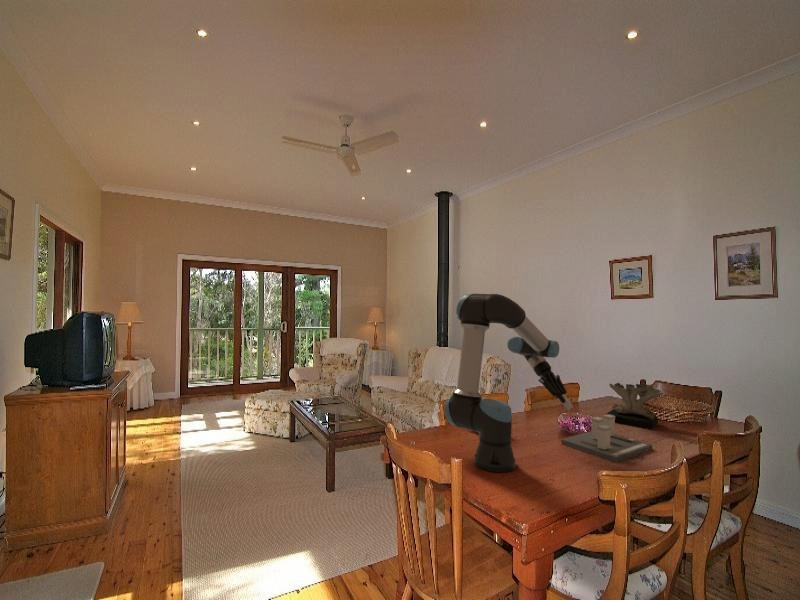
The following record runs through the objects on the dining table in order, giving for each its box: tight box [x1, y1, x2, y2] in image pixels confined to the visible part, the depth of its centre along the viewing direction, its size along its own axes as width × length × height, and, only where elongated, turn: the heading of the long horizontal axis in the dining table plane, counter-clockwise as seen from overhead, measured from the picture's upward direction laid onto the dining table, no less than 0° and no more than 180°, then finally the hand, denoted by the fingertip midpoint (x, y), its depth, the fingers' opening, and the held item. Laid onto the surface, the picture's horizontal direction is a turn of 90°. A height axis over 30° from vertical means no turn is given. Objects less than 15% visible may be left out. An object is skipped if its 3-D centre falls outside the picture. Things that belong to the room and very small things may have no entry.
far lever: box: [602, 413, 616, 436], centre depth 183 cm, size 4×3×9 cm
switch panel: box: [560, 430, 653, 463], centre depth 174 cm, size 28×24×2 cm
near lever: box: [597, 425, 611, 450], centre depth 166 cm, size 4×3×9 cm
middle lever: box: [590, 416, 604, 440], centre depth 178 cm, size 4×3×9 cm
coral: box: [605, 382, 664, 430], centre depth 208 cm, size 25×20×22 cm
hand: (570, 408), depth 179 cm, fingers closed
